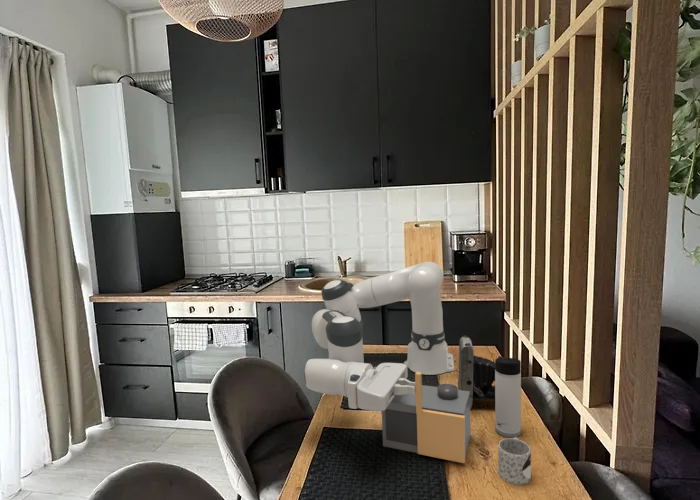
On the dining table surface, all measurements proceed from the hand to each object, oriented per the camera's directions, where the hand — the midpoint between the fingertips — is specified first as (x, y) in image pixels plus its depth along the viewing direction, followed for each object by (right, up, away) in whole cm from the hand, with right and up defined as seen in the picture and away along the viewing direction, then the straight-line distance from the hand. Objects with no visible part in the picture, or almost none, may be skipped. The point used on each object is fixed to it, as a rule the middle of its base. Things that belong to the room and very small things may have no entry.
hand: (416, 388), depth 97 cm
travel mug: (+26, -15, +10) cm, 32 cm away
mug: (+21, -17, -5) cm, 28 cm away
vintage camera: (+25, -14, +26) cm, 39 cm away
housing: (+4, -16, +8) cm, 18 cm away
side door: (+6, -16, -1) cm, 17 cm away
